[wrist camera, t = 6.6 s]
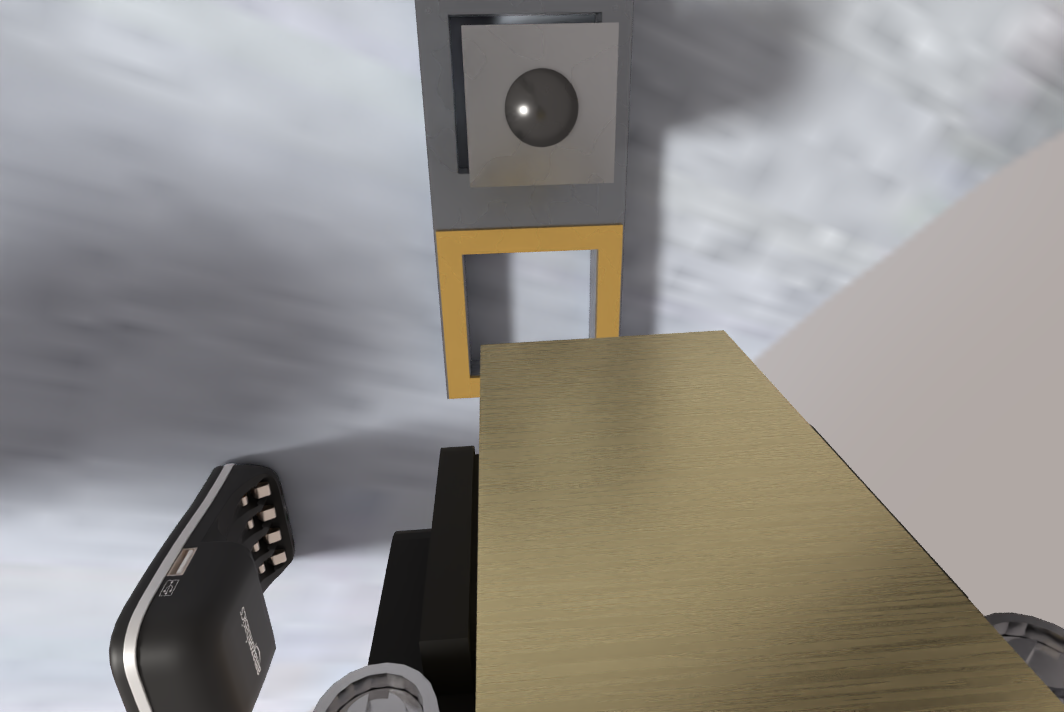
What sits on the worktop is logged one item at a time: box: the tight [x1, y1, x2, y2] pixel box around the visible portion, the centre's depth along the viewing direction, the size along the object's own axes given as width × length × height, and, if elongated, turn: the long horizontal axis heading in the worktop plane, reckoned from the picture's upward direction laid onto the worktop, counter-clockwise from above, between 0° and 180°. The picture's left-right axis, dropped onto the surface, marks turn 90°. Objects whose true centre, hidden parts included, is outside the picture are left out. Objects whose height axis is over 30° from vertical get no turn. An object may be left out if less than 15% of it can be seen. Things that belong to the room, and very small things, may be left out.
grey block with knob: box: [461, 22, 619, 187], centre depth 23 cm, size 4×4×8 cm
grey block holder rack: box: [415, 0, 633, 399], centre depth 26 cm, size 26×8×2 cm, turn 1°
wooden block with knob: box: [476, 330, 1064, 712], centre depth 9 cm, size 4×4×8 cm
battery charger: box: [109, 463, 295, 712], centre depth 29 cm, size 7×4×11 cm, turn 1°
